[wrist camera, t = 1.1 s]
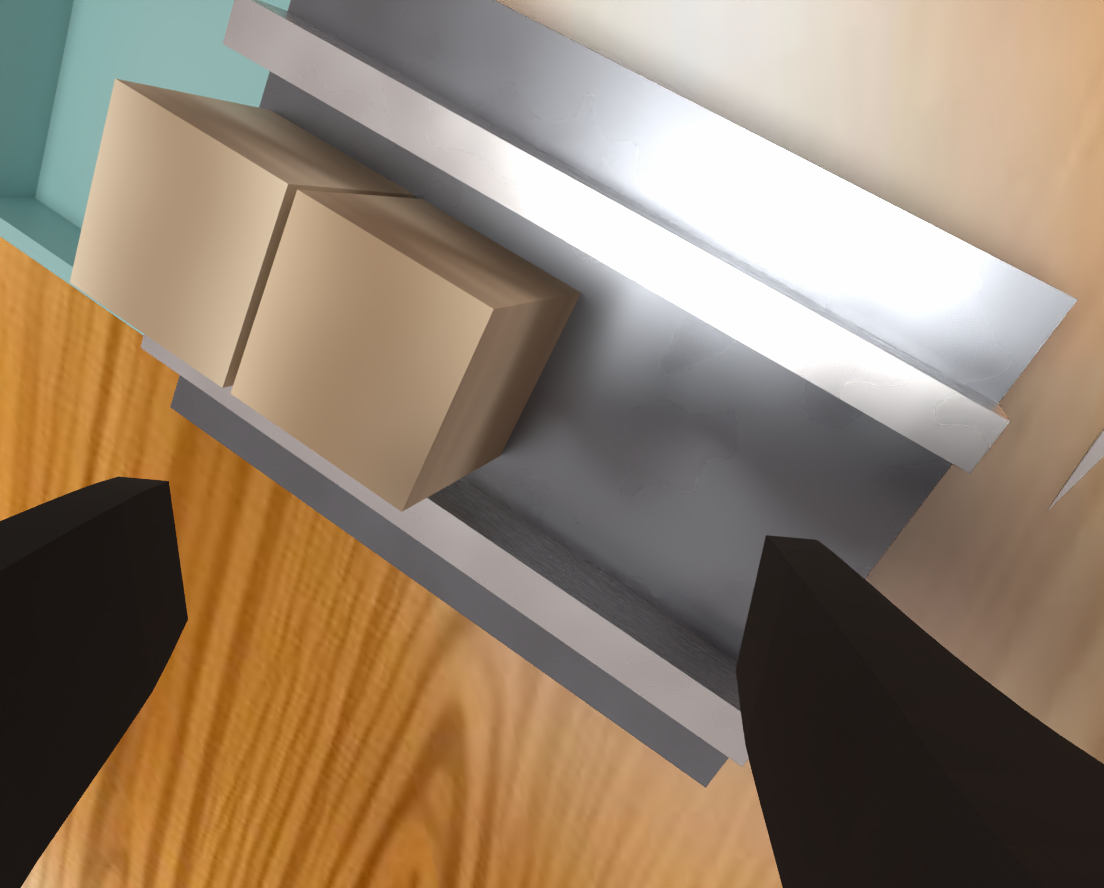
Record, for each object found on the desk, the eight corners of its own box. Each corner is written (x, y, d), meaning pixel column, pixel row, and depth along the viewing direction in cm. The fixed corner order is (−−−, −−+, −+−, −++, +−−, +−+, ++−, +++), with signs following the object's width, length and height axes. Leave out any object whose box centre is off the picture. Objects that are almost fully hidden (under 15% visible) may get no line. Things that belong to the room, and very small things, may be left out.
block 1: (414, 194, 17) (288, 183, 14) (350, 358, 19) (222, 388, 15) (270, 109, 18) (115, 78, 14) (220, 273, 19) (69, 282, 16)
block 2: (581, 292, 16) (493, 309, 13) (500, 455, 18) (401, 511, 14) (421, 198, 17) (297, 189, 13) (357, 362, 19) (229, 393, 15)
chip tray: (373, -7, 20) (307, -38, 17) (253, 353, 23) (186, 365, 21) (105, -149, 21) (14, -194, 19) (36, 206, 25) (-48, 203, 23)
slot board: (1045, 288, 16) (1099, 306, 12) (729, 714, 20) (690, 832, 16) (397, -45, 19) (266, -120, 15) (251, 387, 24) (121, 418, 20)
